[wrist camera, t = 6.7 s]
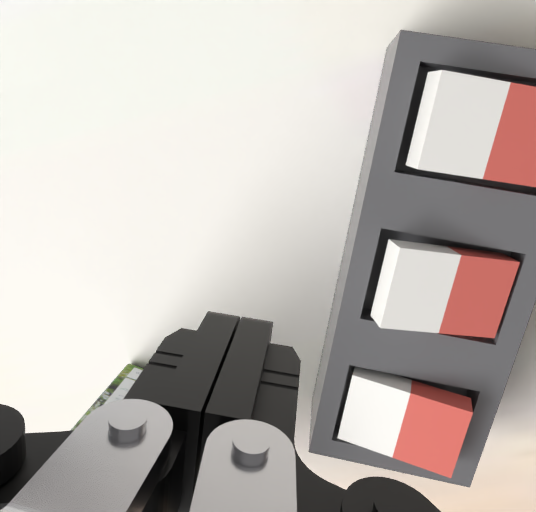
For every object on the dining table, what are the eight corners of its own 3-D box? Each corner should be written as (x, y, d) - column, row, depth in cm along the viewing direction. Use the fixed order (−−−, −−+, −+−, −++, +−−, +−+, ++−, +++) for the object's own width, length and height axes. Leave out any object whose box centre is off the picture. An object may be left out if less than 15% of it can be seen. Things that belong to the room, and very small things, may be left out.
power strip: (386, 47, 24) (400, 29, 20) (562, 73, 24) (620, 61, 19) (312, 401, 31) (308, 452, 26) (447, 429, 30) (469, 487, 25)
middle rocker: (388, 239, 22) (400, 247, 21) (502, 252, 23) (520, 261, 22) (370, 315, 23) (380, 328, 22) (479, 325, 24) (494, 338, 23)
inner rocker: (427, 72, 20) (442, 69, 19) (554, 94, 21) (577, 94, 19) (405, 165, 21) (417, 169, 20) (526, 183, 22) (545, 188, 20)
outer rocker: (356, 363, 26) (352, 375, 24) (471, 398, 24) (473, 412, 23) (341, 423, 27) (337, 438, 25) (450, 460, 25) (451, 478, 24)
